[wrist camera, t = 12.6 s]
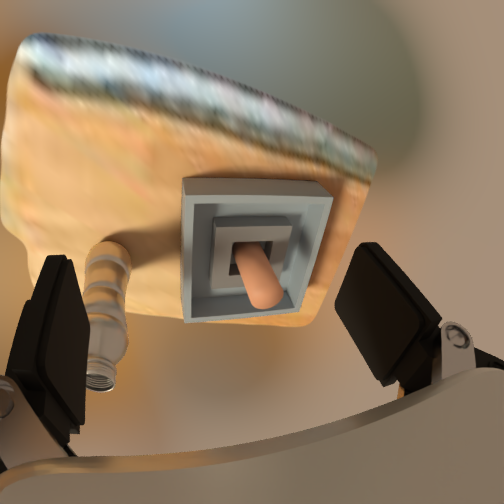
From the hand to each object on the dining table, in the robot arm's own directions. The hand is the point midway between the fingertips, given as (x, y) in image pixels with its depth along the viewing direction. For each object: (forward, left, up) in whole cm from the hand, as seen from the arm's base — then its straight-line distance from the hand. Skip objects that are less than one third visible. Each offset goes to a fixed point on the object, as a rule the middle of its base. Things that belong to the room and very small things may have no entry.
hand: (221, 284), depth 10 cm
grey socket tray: (+18, +10, -28) cm, 35 cm away
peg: (+18, +10, -27) cm, 34 cm away
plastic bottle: (+19, -9, -28) cm, 35 cm away
